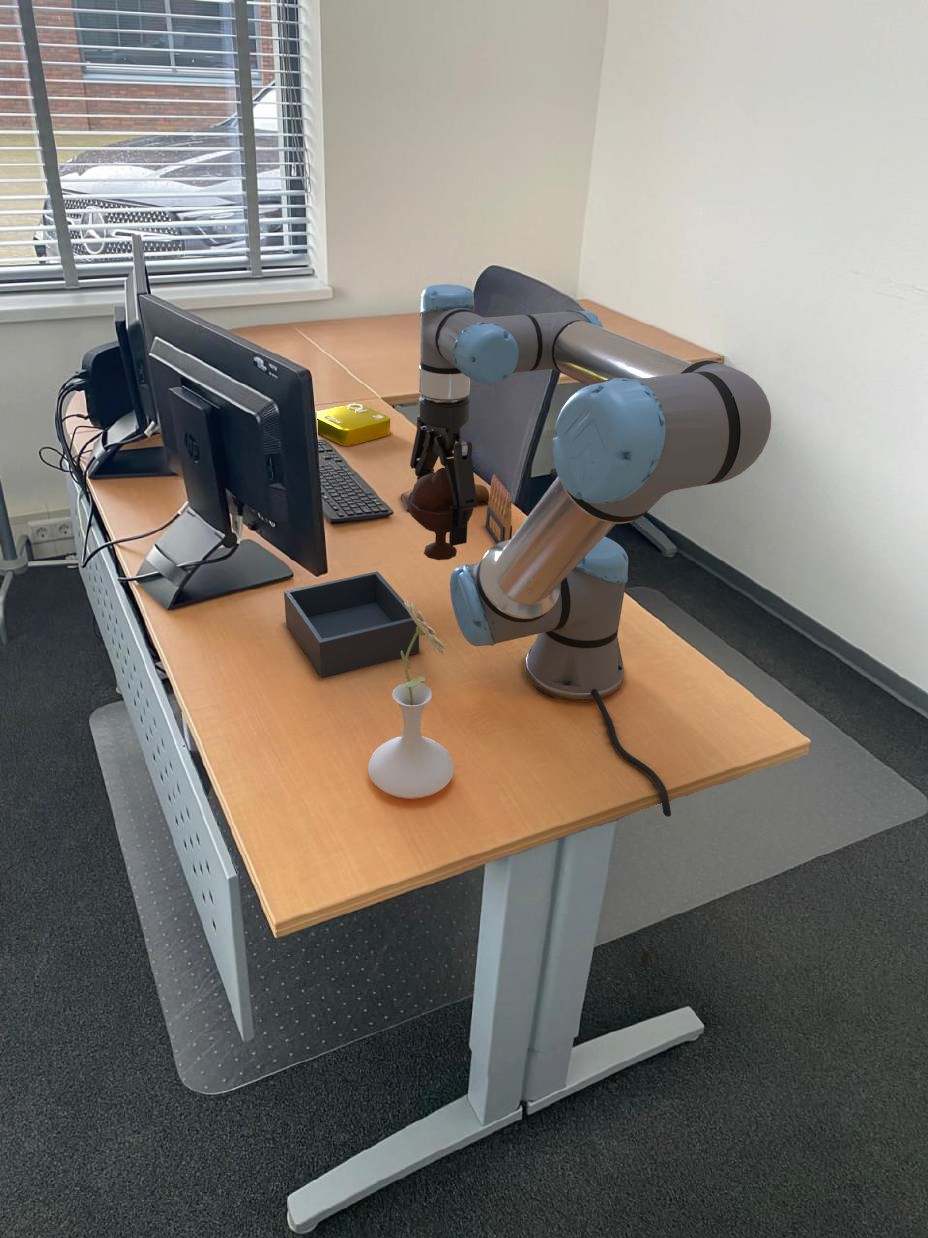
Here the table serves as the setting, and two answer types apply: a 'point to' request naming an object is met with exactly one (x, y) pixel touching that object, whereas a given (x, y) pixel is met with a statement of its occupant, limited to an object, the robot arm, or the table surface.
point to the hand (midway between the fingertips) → (440, 528)
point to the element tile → (352, 424)
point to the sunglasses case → (481, 495)
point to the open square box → (350, 623)
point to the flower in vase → (412, 737)
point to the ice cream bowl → (434, 512)
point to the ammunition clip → (499, 512)
